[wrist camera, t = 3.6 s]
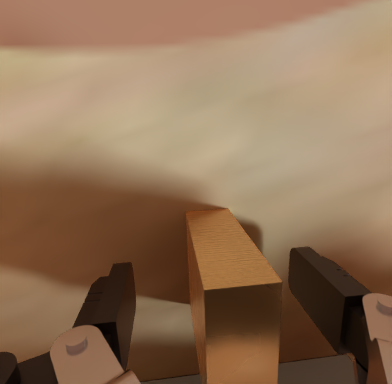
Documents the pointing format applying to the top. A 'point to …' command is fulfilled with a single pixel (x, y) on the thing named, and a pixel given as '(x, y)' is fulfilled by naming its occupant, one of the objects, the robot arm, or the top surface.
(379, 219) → the top surface
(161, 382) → the box
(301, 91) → the top surface
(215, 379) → the wooden block
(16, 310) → the top surface
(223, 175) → the top surface
